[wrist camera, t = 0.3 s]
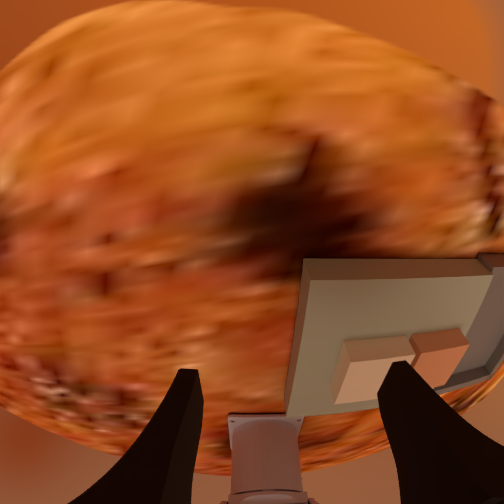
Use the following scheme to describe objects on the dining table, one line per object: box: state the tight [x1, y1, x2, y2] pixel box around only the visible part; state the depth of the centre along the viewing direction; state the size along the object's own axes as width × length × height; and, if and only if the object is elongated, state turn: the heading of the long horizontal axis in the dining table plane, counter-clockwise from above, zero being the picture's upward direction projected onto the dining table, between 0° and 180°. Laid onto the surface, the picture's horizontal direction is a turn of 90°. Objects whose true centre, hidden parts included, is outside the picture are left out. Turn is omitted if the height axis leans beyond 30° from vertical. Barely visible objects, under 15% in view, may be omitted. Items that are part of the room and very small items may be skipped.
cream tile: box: [330, 335, 416, 404], centre depth 19 cm, size 5×5×2 cm
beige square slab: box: [284, 258, 494, 417], centre depth 21 cm, size 15×15×2 cm
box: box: [433, 253, 504, 395], centre depth 22 cm, size 16×11×2 cm
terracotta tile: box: [409, 328, 470, 388], centre depth 19 cm, size 5×5×2 cm
